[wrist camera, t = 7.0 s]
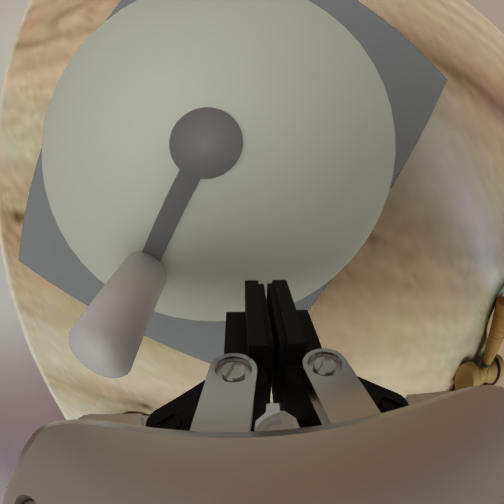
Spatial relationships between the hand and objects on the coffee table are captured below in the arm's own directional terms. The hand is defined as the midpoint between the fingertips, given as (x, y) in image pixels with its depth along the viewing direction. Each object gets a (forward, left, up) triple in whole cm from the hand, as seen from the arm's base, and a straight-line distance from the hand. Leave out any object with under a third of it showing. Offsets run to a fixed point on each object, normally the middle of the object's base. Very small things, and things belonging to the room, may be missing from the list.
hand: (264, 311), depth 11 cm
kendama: (-2, +33, -7) cm, 34 cm away
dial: (-5, -5, -5) cm, 9 cm away
